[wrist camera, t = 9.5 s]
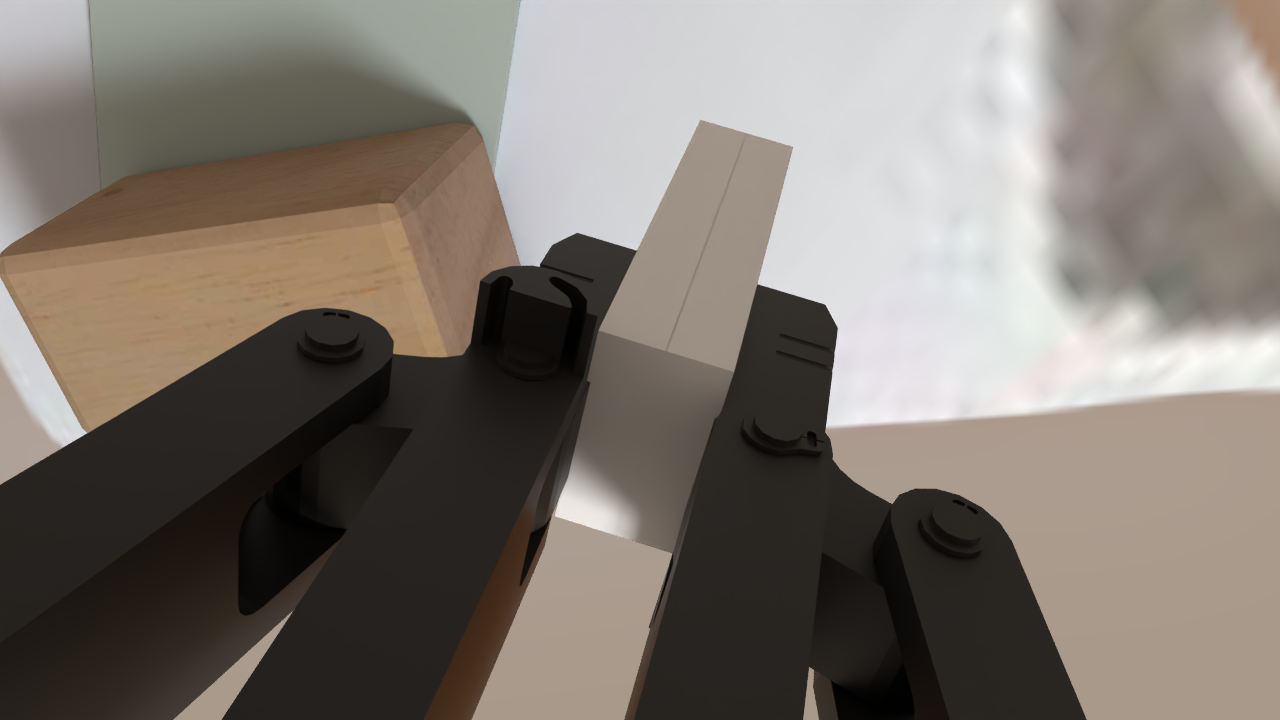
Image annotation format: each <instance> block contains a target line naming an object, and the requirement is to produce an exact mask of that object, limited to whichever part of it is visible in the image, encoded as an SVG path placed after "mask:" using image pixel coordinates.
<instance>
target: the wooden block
mask: <svg viewBox="0 0 1280 720" xmlns="http://www.w3.org/2000/svg"><path fill="white" fill-rule="evenodd" d="M509 266H520V262H519V259H518V256H517V252H516V249H515V245H514V242H513V239H512V235H511V232H510V229H509V225H508V222H507V218H506V215H505V212H504V208H503V205H502V201H501V198H500V195H499V191H498V188H497V185H496V181H495V178H494V174H493V171H492V168H491V164H490V161H489V157H488V154H487V151H486V147H485V144H484V140H483V137H482V135H481V134H480V132H479V131H478V129H477V128H476V126H474V125H468V124H462V123H451V124H444V125H438V126H432V127H426V128H420V129H414V130H408V131H401V132H395V133H389V134H383V135H377V136H371V137H365V138H359V139H352V140H346V141H340V142H334V143H328V144H322V145H316V146H309V147H303V148H297V149H291V150H285V151H279V152H273V153H266V154H260V155H254V156H248V157H242V158H236V159H230V160H224V161H217V162H211V163H205V164H199V165H193V166H187V167H181V168H174V169H168V170H162V171H156V172H150V173H144V174H138V175H131V176H125V177H123V178H121V179H120V180H118V181H116V182H115V183H113V184H111V185H110V186H108V187H106V188H104V189H103V190H101V191H99V192H98V193H96V194H94V195H93V196H91V197H89V198H88V199H86V200H84V201H83V202H81V203H79V204H78V205H76V206H74V207H73V208H71V209H69V210H67V211H66V212H64V213H62V214H61V215H59V216H57V217H56V218H54V219H52V220H51V221H49V222H47V223H46V224H44V225H42V226H41V227H39V228H37V229H36V230H34V231H32V232H30V233H29V234H27V235H25V236H24V237H22V238H20V239H19V240H17V241H15V242H14V243H12V244H11V245H9V246H8V247H7V248H6V249H5V250H3V251H2V252H1V254H0V277H1V279H2V281H3V283H4V285H5V287H6V288H7V290H8V292H9V294H10V296H11V298H12V299H13V301H14V303H15V305H16V307H17V309H18V311H19V312H20V314H21V316H22V318H23V320H24V322H25V323H26V325H27V327H28V329H29V331H30V333H31V334H32V336H33V338H34V340H35V342H36V344H37V346H38V347H39V349H40V351H41V353H42V355H43V357H44V358H45V360H46V362H47V364H48V366H49V368H50V369H51V371H52V373H53V375H54V377H55V379H56V381H57V382H58V384H59V386H60V388H61V390H62V392H63V393H64V395H65V397H66V399H67V401H68V403H69V405H70V406H71V408H72V410H73V412H74V414H75V416H76V417H77V419H78V421H79V423H80V425H81V427H82V428H83V429H84V430H85V431H86V432H87V433H89V432H90V431H92V430H94V429H95V428H97V427H99V426H100V425H102V424H104V423H106V422H107V421H109V420H111V419H112V418H114V417H116V416H117V415H119V414H121V413H122V412H124V411H126V410H127V409H129V408H131V407H133V406H134V405H136V404H138V403H139V402H141V401H143V400H144V399H146V398H148V397H149V396H151V395H153V394H155V393H156V392H158V391H160V390H161V389H163V388H165V387H166V386H168V385H170V384H171V383H173V382H175V381H176V380H178V379H180V378H182V377H183V376H185V375H187V374H188V373H190V372H192V371H193V370H195V369H197V368H198V367H200V366H202V365H203V364H205V363H207V362H209V361H210V360H212V359H214V358H215V357H217V356H219V355H220V354H222V353H224V352H225V351H227V350H229V349H231V348H232V347H234V346H236V345H237V344H239V343H241V342H242V341H244V340H246V339H247V338H249V337H251V336H252V335H254V334H256V333H258V332H259V331H261V330H263V329H264V328H266V327H268V326H269V325H271V324H273V323H274V322H276V321H278V320H279V319H281V318H283V317H286V316H288V315H291V314H294V313H296V312H299V311H301V310H309V309H318V308H335V309H343V310H350V311H353V312H356V313H359V314H362V315H365V316H368V317H370V318H372V319H373V320H375V321H376V322H378V323H379V324H381V325H382V326H383V327H385V328H386V329H387V331H388V332H389V334H390V336H391V337H392V339H393V341H394V348H393V354H400V355H411V356H421V357H450V356H458V355H463V354H464V352H465V351H466V349H467V348H468V346H469V345H470V343H471V336H472V330H473V323H474V317H475V310H476V304H477V297H478V291H479V284H480V280H481V279H483V278H484V277H485V276H487V275H488V274H489V273H490V272H492V271H494V270H498V269H502V268H505V267H509Z"/></svg>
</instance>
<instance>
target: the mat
mask: <svg viewBox="0 0 1280 720" xmlns="http://www.w3.org/2000/svg"><path fill="white" fill-rule="evenodd" d="M519 6H520V0H89V10H90V25H91V41H92V57H93V73H94V89H95V105H96V121H97V137H98V153H99V169H100V184H101V190H103V189H104V188H106V187H108V186H110V185H111V184H113V183H115V182H116V181H118V180H120V179H121V178H123V177H125V176H131V175H138V174H144V173H150V172H156V171H162V170H168V169H174V168H181V167H187V166H193V165H199V164H205V163H211V162H217V161H224V160H230V159H236V158H242V157H248V156H254V155H260V154H266V153H273V152H279V151H285V150H291V149H297V148H303V147H309V146H316V145H322V144H328V143H334V142H340V141H346V140H352V139H359V138H365V137H371V136H377V135H383V134H389V133H395V132H401V131H408V130H414V129H420V128H426V127H432V126H438V125H444V124H451V123H462V124H468V125H474V126H476V128H477V129H478V131H479V132H480V134H481V135H482V137H483V140H484V144H485V147H486V151H487V154H488V157H489V161H490V164H491V168H492V171H493V174H494V170H495V164H496V157H497V150H498V144H499V137H500V131H501V124H502V117H503V111H504V104H505V98H506V91H507V85H508V78H509V71H510V65H511V58H512V52H513V45H514V39H515V32H516V25H517V19H518V12H519Z"/></svg>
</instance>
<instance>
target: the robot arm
mask: <svg viewBox="0 0 1280 720" xmlns="http://www.w3.org/2000/svg"><path fill="white" fill-rule="evenodd" d="M792 149H793V147H791V146H788V145H784V144H781V143H777V142H774V141H771V140H767V139H764V138H760V137H757V136H754V135H750V134H747V133H743V132H740V131H736V130H733V129H730V128H726V127H723V126H719V125H716V124H712V123H709V122H706V121H702V120H700V122H699V124H698V126H697V128H696V130H695V133H694V135H693V137H692V139H691V141H690V143H689V145H688V147H687V149H686V151H685V153H684V155H683V157H682V159H681V161H680V163H679V166H678V168H677V170H676V172H675V174H674V176H673V178H672V180H671V182H670V184H669V186H668V188H667V190H666V192H665V194H664V196H663V199H662V201H661V203H660V205H659V207H658V209H657V211H656V213H655V215H654V217H653V219H652V221H651V223H650V225H649V227H648V229H647V232H646V234H645V236H644V238H643V240H642V242H641V244H640V246H639V248H638V250H637V251H636V250H632V249H629V248H626V247H622V246H619V245H616V244H612V243H609V242H606V241H602V240H599V239H596V238H592V237H589V236H586V235H582V234H579V233H576V234H574V235H572V236H570V237H568V238H566V239H564V240H562V241H560V242H558V243H556V244H554V245H552V247H551V248H550V250H549V251H548V253H547V254H546V256H545V258H544V259H543V261H542V262H541V264H540V267H537V266H509V267H505V268H502V269H498V270H494V271H492V272H490V273H489V274H488V275H487V276H485V277H484V278H483V279H481V280H480V284H479V291H478V297H477V304H476V310H475V317H474V323H473V330H472V336H471V343H470V345H469V346H468V348H467V349H466V351H465V352H464V354H463V355H458V356H450V357H421V356H411V355H400V354H393V348H394V341H393V339H392V337H391V336H390V334H389V332H388V331H387V329H386V328H385V327H383V326H382V325H381V324H379V323H378V322H376V321H375V320H373V319H372V318H370V317H368V316H365V315H362V314H359V313H356V312H353V311H350V310H343V309H335V308H318V309H309V310H301V311H299V312H296V313H294V314H291V315H288V316H286V317H283V318H281V319H279V320H278V321H276V322H274V323H273V324H271V325H269V326H268V327H266V328H264V329H263V330H261V331H259V332H258V333H256V334H254V335H252V336H251V337H249V338H247V339H246V340H244V341H242V342H241V343H239V344H237V345H236V346H234V347H232V348H231V349H229V350H227V351H225V352H224V353H222V354H220V355H219V356H217V357H215V358H214V359H212V360H210V361H209V362H207V363H205V364H203V365H202V366H200V367H198V368H197V369H195V370H193V371H192V372H190V373H188V374H187V375H185V376H183V377H182V378H180V379H178V380H176V381H175V382H173V383H171V384H170V385H168V386H166V387H165V388H163V389H161V390H160V391H158V392H156V393H155V394H153V395H151V396H149V397H148V398H146V399H144V400H143V401H141V402H139V403H138V404H136V405H134V406H133V407H131V408H129V409H127V410H126V411H124V412H122V413H121V414H119V415H117V416H116V417H114V418H112V419H111V420H109V421H107V422H106V423H104V424H102V425H100V426H99V427H97V428H95V429H94V430H92V431H90V432H89V433H87V434H85V435H84V436H82V437H80V438H79V439H77V440H75V441H73V442H72V443H70V444H68V445H67V446H65V447H63V448H62V449H60V450H58V451H57V452H55V453H53V454H51V455H50V456H49V457H47V458H45V459H43V460H41V461H40V462H38V463H36V464H35V465H33V466H31V467H30V468H28V469H26V470H24V471H23V472H21V473H19V474H18V475H16V476H14V477H13V478H11V479H9V480H8V481H6V482H4V483H3V484H1V485H0V720H173V719H174V718H175V717H176V716H178V715H179V714H180V713H181V712H182V711H183V710H184V709H185V708H186V707H187V706H189V705H190V704H191V703H192V702H193V701H194V700H195V699H196V698H197V697H198V696H200V695H201V694H202V693H203V692H204V691H205V690H206V689H207V688H208V687H209V686H211V685H212V684H213V683H214V682H215V681H216V680H217V679H218V678H219V677H220V676H222V675H223V673H225V672H226V671H227V670H228V669H229V668H230V667H231V666H232V665H234V664H235V663H236V662H237V661H238V660H239V659H240V658H241V657H242V656H243V655H245V654H246V653H247V652H248V651H249V650H250V649H251V648H252V647H253V646H254V645H256V644H257V643H258V642H259V641H260V640H261V639H262V638H263V637H264V636H265V635H266V634H268V633H269V632H270V631H271V630H272V629H273V628H274V627H275V626H276V625H278V624H279V623H280V622H281V621H282V620H283V619H284V618H285V617H286V616H287V615H288V614H289V613H291V612H292V611H293V610H294V611H293V612H292V614H291V616H290V617H289V618H288V620H287V622H286V623H285V625H284V626H283V628H282V629H281V631H280V632H279V634H278V635H277V637H276V638H275V640H274V641H273V643H272V644H271V646H270V647H269V649H268V650H267V652H266V653H265V655H264V656H263V658H262V659H261V661H260V662H259V664H258V665H257V667H256V668H255V670H254V671H253V673H252V674H251V676H250V678H249V679H248V681H247V682H246V684H245V685H244V687H243V688H242V690H241V691H240V693H239V694H238V696H237V697H236V699H235V700H234V702H233V703H232V705H231V706H230V708H229V709H228V711H227V712H226V714H225V715H224V717H223V719H222V720H471V719H472V717H473V715H474V712H475V710H476V707H477V705H478V703H479V700H480V698H481V696H482V693H483V691H484V688H485V686H486V684H487V681H488V679H489V677H490V674H491V672H492V670H493V667H494V664H495V663H496V660H497V658H498V655H499V653H500V650H501V648H502V646H503V643H504V641H505V639H506V636H507V634H508V632H509V629H510V627H511V625H512V622H513V620H514V617H515V615H516V613H517V610H518V608H519V606H520V603H521V601H522V598H523V596H524V594H525V591H526V589H527V587H528V584H529V582H530V580H531V577H532V574H533V573H534V570H535V568H536V565H537V563H538V561H539V558H540V556H541V554H542V551H543V549H544V546H545V542H546V538H547V534H548V529H549V525H550V520H551V516H552V513H553V511H554V509H555V507H556V504H557V502H558V500H559V502H558V506H557V511H556V515H555V516H556V517H559V518H563V519H566V520H569V521H572V522H575V523H578V524H582V525H585V526H588V527H591V528H594V529H597V530H601V531H604V532H607V533H610V534H613V535H616V536H619V537H623V538H626V539H629V540H632V541H635V542H638V543H641V544H645V545H648V546H651V547H654V548H657V549H660V550H664V551H667V552H670V553H673V554H672V558H671V560H670V564H669V567H668V570H667V573H666V576H665V579H664V582H663V585H662V588H661V591H660V594H659V597H658V601H657V603H656V607H655V610H654V613H653V616H652V619H651V622H650V625H649V628H650V631H649V635H648V638H647V642H646V645H645V649H644V652H643V656H642V659H641V663H640V666H639V670H638V674H637V677H636V681H635V684H634V688H633V691H632V695H631V698H630V702H629V705H628V709H627V712H626V716H625V719H624V720H803V715H804V706H805V697H806V689H807V680H808V671H809V667H810V668H812V669H814V684H813V688H814V694H815V699H816V705H817V709H818V715H819V720H1086V717H1085V715H1084V713H1083V710H1082V707H1081V705H1080V703H1079V701H1078V698H1077V696H1076V693H1075V691H1074V688H1073V686H1072V684H1071V681H1070V679H1069V676H1068V674H1067V672H1066V669H1065V667H1064V665H1063V662H1062V660H1061V658H1060V655H1059V653H1058V650H1057V648H1056V646H1055V643H1054V641H1053V638H1052V636H1051V634H1050V631H1049V629H1048V626H1047V624H1046V622H1045V619H1044V617H1043V614H1042V612H1041V610H1040V607H1039V605H1038V603H1037V600H1036V598H1035V595H1034V593H1033V591H1032V588H1031V586H1030V583H1029V581H1028V579H1027V576H1026V574H1025V572H1024V569H1023V567H1022V565H1021V562H1020V560H1019V558H1018V555H1017V552H1016V550H1015V548H1014V546H1013V543H1012V541H1011V539H1010V538H1009V536H1008V535H1007V533H1006V532H1005V530H1004V529H1003V527H1002V525H1001V524H1000V523H999V522H998V521H997V520H996V519H994V518H993V517H992V516H991V515H990V514H989V513H988V512H986V511H985V510H984V509H983V508H982V507H980V506H978V505H976V504H974V503H973V502H971V501H969V500H967V499H965V498H963V497H961V496H960V495H956V494H952V493H949V492H946V491H942V490H938V489H913V490H910V491H908V492H905V493H903V494H900V495H899V496H898V497H897V499H896V500H895V502H894V503H893V504H891V503H889V502H887V501H885V500H883V499H882V498H880V497H878V496H876V495H874V494H873V493H871V492H869V491H867V490H866V489H864V488H863V487H861V486H860V485H858V484H857V483H855V482H854V481H852V480H851V479H850V478H849V477H848V476H847V475H846V474H845V473H843V472H842V471H841V470H840V469H839V467H838V466H837V465H836V463H835V462H834V461H833V459H832V458H833V453H832V447H831V441H830V438H829V437H828V436H827V434H826V433H825V429H826V421H827V413H828V405H829V396H830V388H831V380H832V369H833V363H834V355H835V354H834V352H835V347H836V339H837V330H838V328H837V326H836V324H835V322H834V320H833V318H832V316H831V315H830V313H829V311H828V309H827V307H826V305H824V304H821V303H818V302H815V301H811V300H808V299H805V298H801V297H798V296H795V295H791V294H788V293H785V292H781V291H778V290H775V289H771V288H768V287H765V286H761V285H758V284H757V283H758V279H759V275H760V272H761V268H762V264H763V260H764V256H765V252H766V249H767V245H768V241H769V237H770V233H771V230H772V226H773V222H774V218H775V214H776V211H777V207H778V203H779V199H780V195H781V191H782V188H783V184H784V180H785V176H786V172H787V169H788V165H789V161H790V157H791V153H792ZM559 497H560V498H559Z"/></svg>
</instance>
